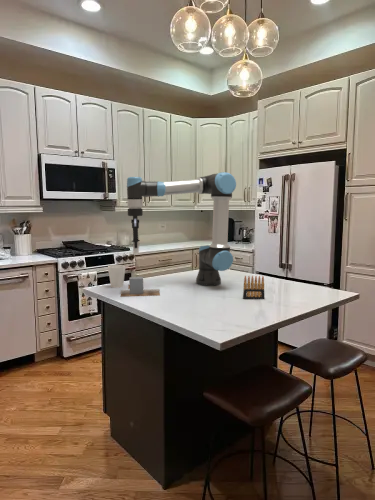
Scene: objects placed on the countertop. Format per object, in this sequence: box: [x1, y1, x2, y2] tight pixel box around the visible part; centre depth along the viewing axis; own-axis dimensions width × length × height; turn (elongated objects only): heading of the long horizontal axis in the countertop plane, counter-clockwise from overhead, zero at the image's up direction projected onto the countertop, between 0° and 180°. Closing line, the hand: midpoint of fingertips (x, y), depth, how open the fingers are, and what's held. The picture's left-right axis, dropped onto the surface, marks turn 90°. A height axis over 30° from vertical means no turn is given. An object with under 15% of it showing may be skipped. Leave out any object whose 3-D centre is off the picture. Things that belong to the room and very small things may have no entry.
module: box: [127, 276, 144, 294], centre depth 185 cm, size 8×5×8 cm, turn 98°
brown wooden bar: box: [120, 288, 161, 295], centre depth 186 cm, size 20×2×2 cm, turn 98°
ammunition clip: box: [242, 275, 266, 300], centre depth 180 cm, size 11×2×12 cm, turn 89°
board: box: [120, 292, 161, 298], centre depth 186 cm, size 20×13×2 cm, turn 98°
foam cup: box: [107, 264, 126, 289], centre depth 200 cm, size 10×9×13 cm
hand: (136, 254), depth 183 cm, fingers closed
